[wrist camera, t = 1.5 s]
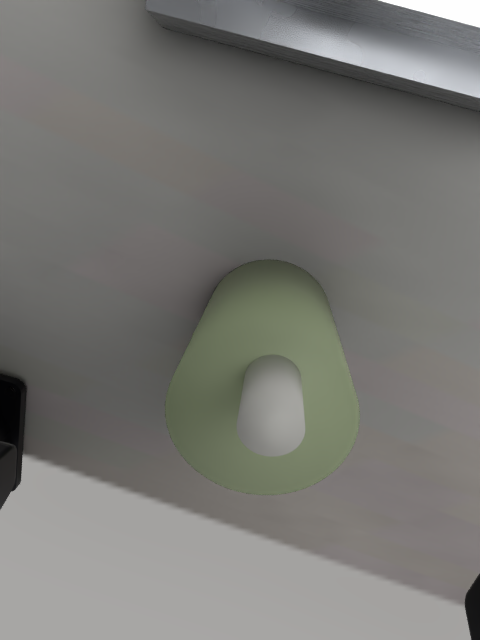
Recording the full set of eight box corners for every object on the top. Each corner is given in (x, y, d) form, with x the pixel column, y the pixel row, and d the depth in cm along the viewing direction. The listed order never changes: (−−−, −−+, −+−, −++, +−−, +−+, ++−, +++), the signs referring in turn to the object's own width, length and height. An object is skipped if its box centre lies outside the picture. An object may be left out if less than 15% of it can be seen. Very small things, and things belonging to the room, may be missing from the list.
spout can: (309, 386, 19) (331, 580, 10) (197, 356, 18) (126, 527, 10) (347, 278, 17) (413, 407, 8) (222, 245, 17) (162, 341, 8)
